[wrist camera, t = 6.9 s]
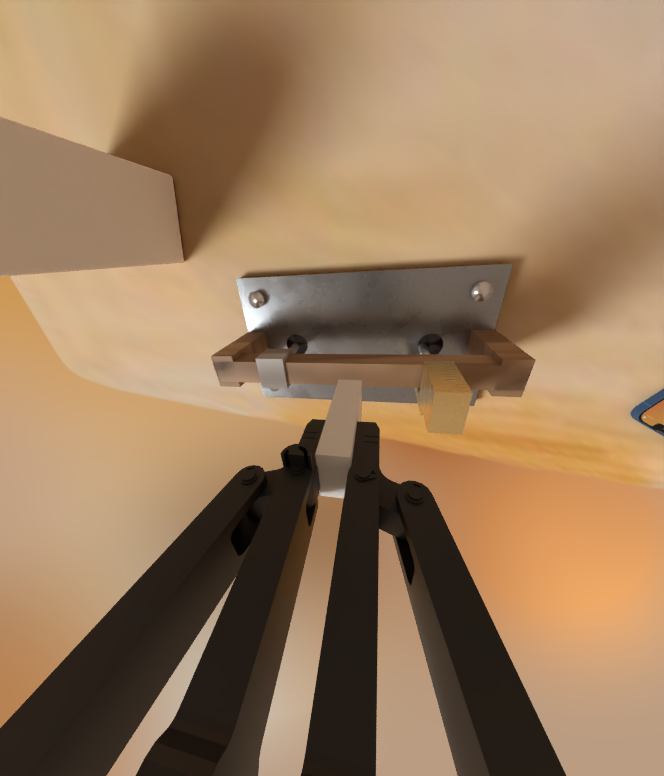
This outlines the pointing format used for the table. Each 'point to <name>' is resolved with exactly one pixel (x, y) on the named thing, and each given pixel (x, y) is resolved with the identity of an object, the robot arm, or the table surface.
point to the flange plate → (374, 315)
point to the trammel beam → (373, 365)
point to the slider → (442, 396)
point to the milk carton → (80, 207)
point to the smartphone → (651, 412)
